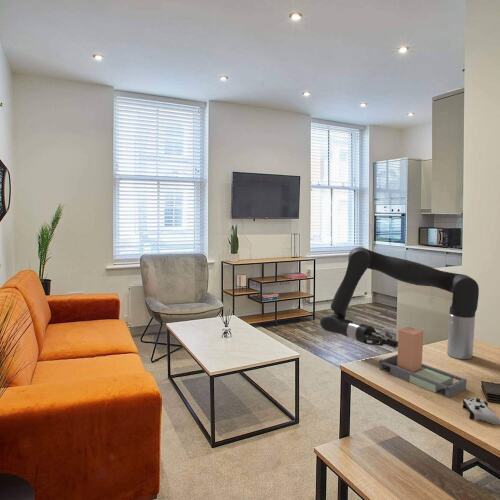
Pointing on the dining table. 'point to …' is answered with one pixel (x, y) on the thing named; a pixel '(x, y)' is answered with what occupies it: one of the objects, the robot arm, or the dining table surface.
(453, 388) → the box
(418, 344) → the terracotta block
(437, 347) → the dining table surface
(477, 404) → the gaming controller
